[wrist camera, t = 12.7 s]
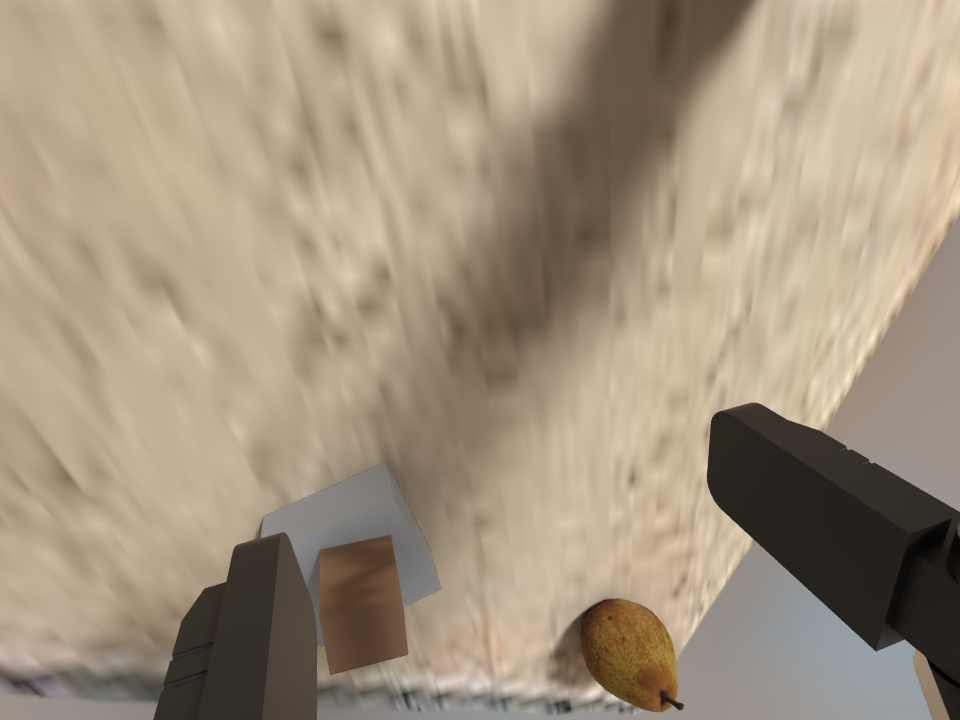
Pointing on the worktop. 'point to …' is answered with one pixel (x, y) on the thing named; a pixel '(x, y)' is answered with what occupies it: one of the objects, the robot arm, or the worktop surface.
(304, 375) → the worktop surface
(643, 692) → the fruit
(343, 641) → the walnut block
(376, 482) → the base block
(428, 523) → the worktop surface
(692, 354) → the worktop surface
